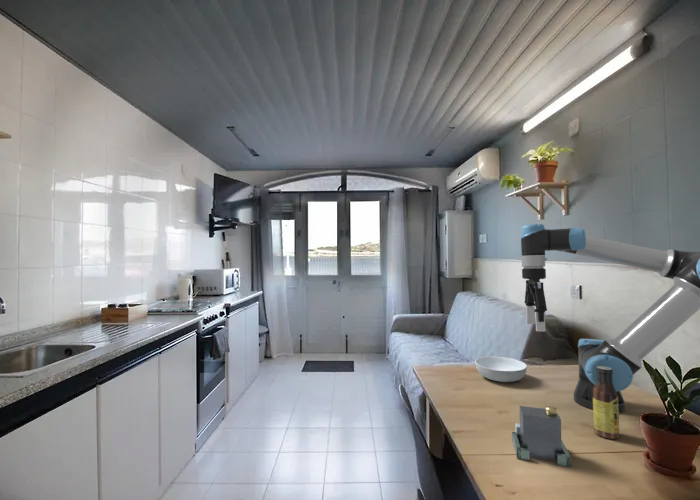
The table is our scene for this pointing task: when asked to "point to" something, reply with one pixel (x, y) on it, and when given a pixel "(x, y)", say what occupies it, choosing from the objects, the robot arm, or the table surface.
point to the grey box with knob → (540, 432)
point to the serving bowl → (501, 368)
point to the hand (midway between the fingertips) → (535, 327)
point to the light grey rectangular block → (517, 427)
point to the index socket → (524, 453)
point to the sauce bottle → (605, 405)
